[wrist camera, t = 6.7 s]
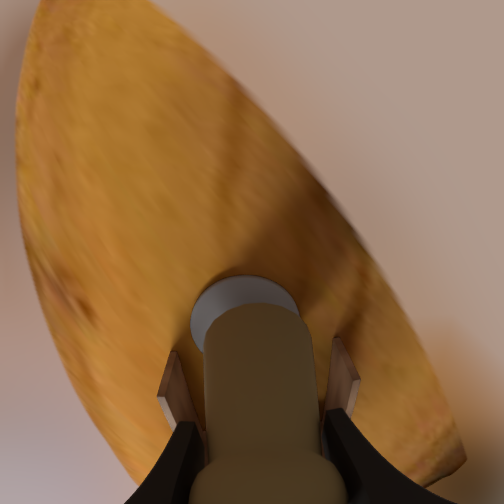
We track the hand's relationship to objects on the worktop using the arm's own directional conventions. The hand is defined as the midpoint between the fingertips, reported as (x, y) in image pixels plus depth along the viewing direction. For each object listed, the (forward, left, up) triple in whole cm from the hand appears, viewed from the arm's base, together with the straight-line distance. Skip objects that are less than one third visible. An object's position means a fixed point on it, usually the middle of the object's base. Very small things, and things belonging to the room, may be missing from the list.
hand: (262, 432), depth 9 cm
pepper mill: (0, 0, -6) cm, 6 cm away
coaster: (0, 0, -9) cm, 9 cm away
